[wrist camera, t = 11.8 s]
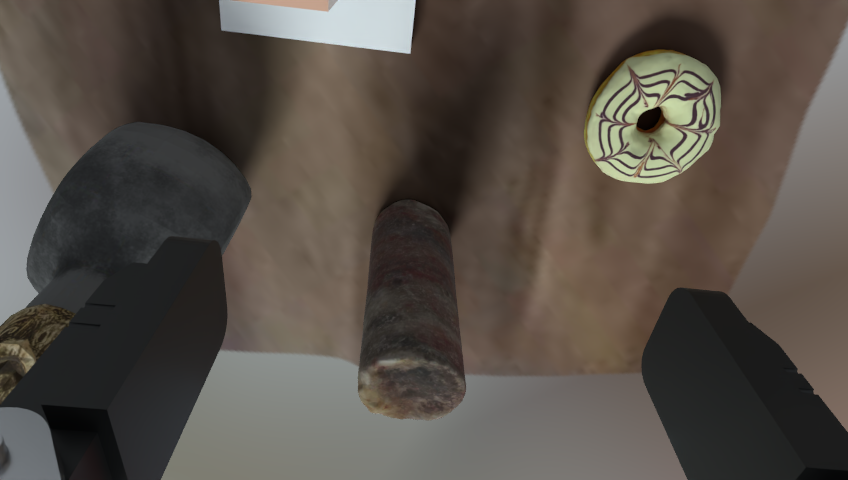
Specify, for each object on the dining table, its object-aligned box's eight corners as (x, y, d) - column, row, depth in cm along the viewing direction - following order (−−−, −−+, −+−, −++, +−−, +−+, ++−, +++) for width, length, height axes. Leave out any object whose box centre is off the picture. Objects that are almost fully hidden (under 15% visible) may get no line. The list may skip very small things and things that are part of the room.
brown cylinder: (467, 223, 51) (488, 385, 34) (425, 275, 54) (425, 447, 37) (398, 184, 49) (384, 337, 32) (359, 241, 52) (327, 407, 35)
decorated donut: (730, 56, 43) (754, 68, 40) (676, 176, 48) (694, 196, 45) (604, 36, 42) (619, 47, 39) (565, 161, 48) (575, 180, 44)
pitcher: (287, 142, 46) (124, 436, 21) (202, 285, 55) (13, 618, 30) (166, 69, 43) (-200, 315, 18) (95, 234, 52) (-221, 559, 26)
